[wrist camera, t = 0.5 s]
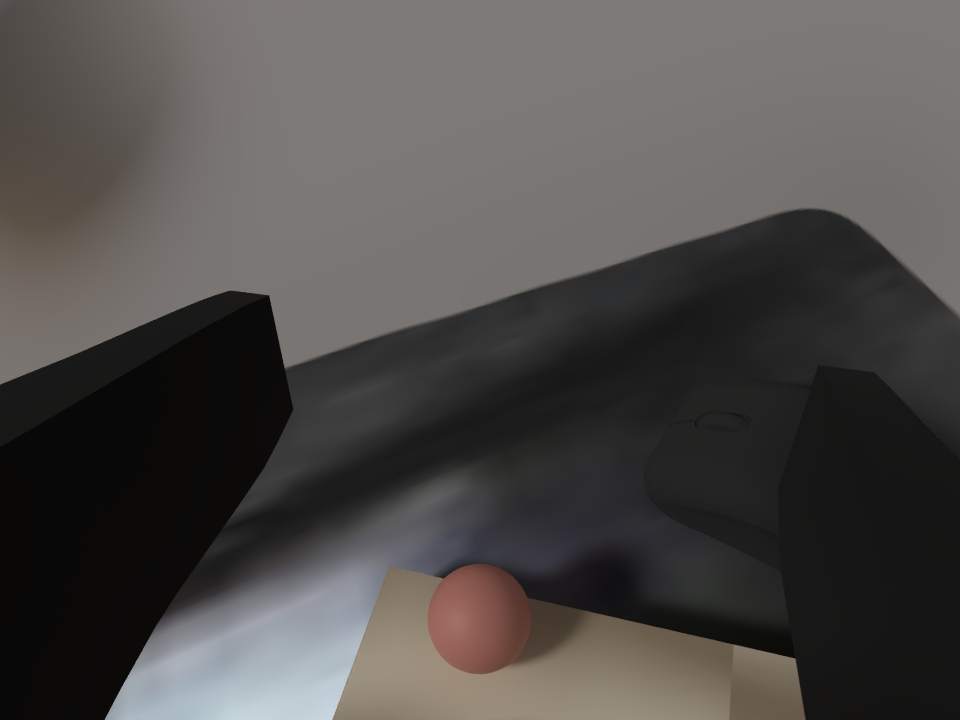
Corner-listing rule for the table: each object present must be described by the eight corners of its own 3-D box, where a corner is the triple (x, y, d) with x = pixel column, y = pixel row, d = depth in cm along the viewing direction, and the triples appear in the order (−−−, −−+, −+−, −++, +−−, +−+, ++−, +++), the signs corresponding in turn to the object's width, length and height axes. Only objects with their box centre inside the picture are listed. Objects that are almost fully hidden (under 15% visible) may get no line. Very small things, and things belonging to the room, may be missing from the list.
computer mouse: (696, 391, 31) (706, 331, 28) (983, 509, 26) (1033, 452, 23) (630, 501, 28) (633, 447, 25) (939, 657, 23) (989, 614, 20)
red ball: (522, 698, 22) (511, 667, 19) (424, 672, 23) (403, 640, 20) (544, 598, 24) (537, 558, 21) (453, 578, 24) (437, 537, 22)
